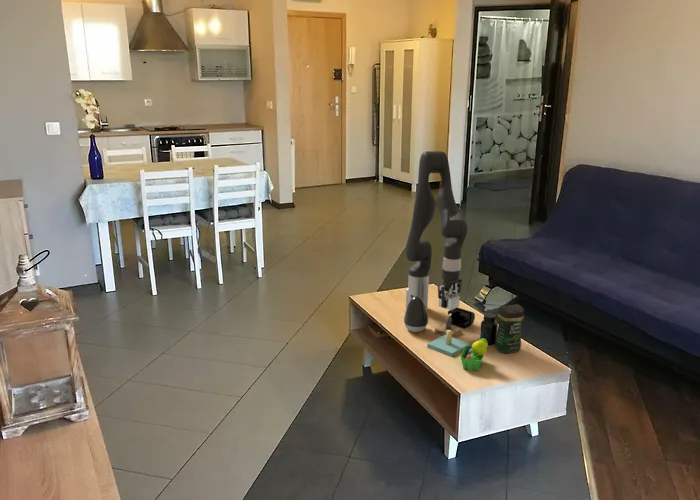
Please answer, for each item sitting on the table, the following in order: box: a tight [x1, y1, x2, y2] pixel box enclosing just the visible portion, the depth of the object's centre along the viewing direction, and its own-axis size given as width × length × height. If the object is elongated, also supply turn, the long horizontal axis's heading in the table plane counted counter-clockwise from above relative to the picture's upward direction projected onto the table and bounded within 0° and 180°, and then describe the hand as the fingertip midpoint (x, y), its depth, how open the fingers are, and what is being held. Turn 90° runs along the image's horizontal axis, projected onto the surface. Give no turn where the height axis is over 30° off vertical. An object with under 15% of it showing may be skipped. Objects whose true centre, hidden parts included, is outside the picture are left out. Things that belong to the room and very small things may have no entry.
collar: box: [438, 293, 461, 311], centre depth 242 cm, size 6×6×5 cm
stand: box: [434, 316, 463, 338], centre depth 245 cm, size 8×8×7 cm
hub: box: [426, 330, 471, 357], centre depth 232 cm, size 12×12×7 cm
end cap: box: [447, 307, 476, 330], centre depth 254 cm, size 10×7×7 cm
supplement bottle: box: [479, 313, 499, 347], centre depth 235 cm, size 7×7×12 cm
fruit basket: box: [460, 338, 488, 372], centre depth 216 cm, size 11×9×11 cm
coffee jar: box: [494, 303, 525, 354], centre depth 228 cm, size 10×8×19 cm
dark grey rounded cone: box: [403, 295, 429, 333], centre depth 247 cm, size 10×10×15 cm
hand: (448, 305), depth 242 cm, fingers closed on collar, 6 cm apart
